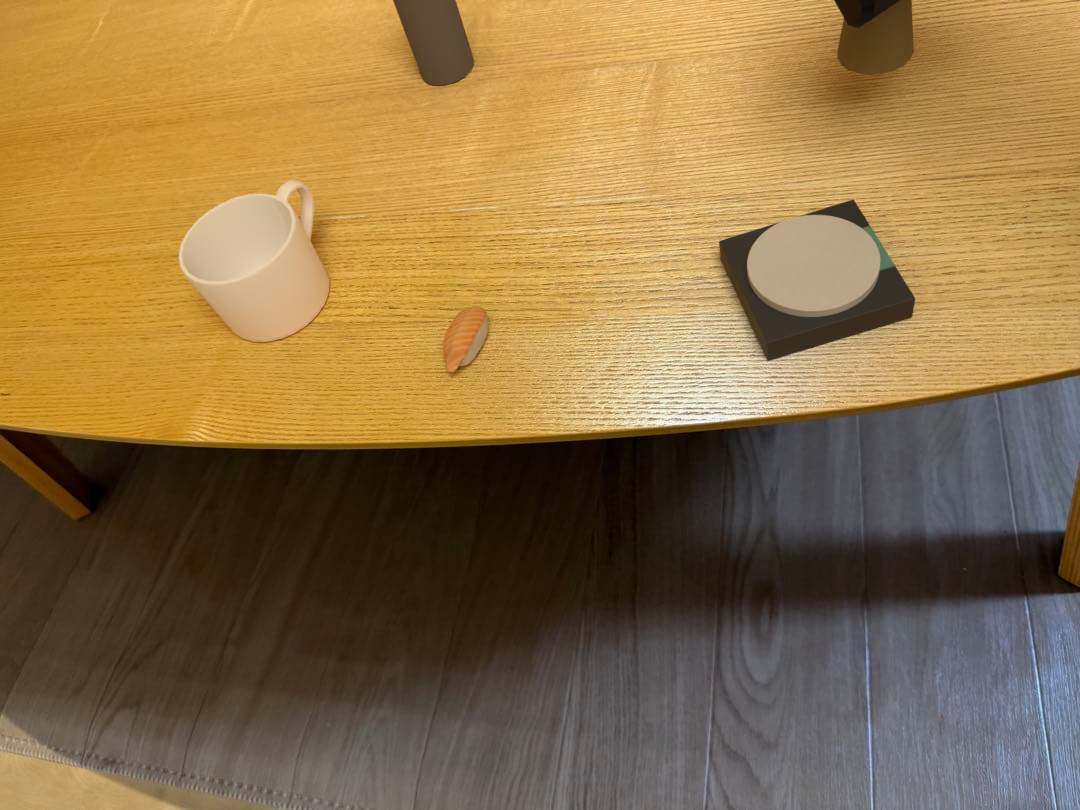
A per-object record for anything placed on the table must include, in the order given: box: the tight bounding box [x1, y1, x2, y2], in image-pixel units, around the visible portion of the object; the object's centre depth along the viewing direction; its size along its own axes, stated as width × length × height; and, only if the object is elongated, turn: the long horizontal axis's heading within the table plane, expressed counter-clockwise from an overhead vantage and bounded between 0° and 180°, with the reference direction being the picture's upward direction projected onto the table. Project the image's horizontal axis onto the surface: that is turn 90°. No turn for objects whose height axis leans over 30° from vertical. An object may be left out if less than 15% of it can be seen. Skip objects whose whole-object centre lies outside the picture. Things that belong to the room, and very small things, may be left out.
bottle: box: [392, 0, 475, 86], centre depth 93 cm, size 6×6×15 cm
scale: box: [718, 198, 916, 362], centre depth 72 cm, size 11×11×3 cm
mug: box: [178, 179, 331, 343], centre depth 82 cm, size 13×10×8 cm
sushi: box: [442, 305, 489, 373], centre depth 75 cm, size 3×6×3 cm, turn 159°
